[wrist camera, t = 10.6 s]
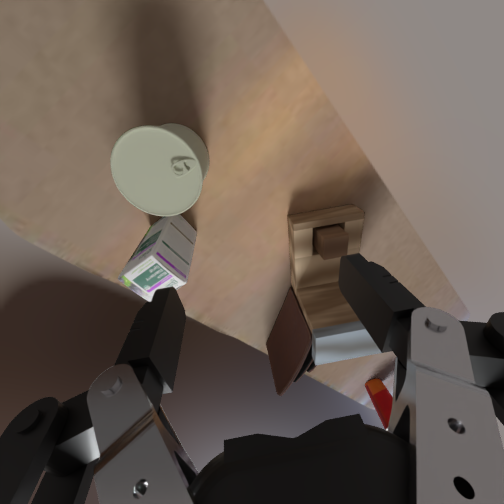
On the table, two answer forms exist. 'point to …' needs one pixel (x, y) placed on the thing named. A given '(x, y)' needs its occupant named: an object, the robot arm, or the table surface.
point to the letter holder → (290, 345)
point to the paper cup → (380, 400)
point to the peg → (330, 241)
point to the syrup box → (161, 257)
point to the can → (160, 168)
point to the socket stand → (327, 286)
